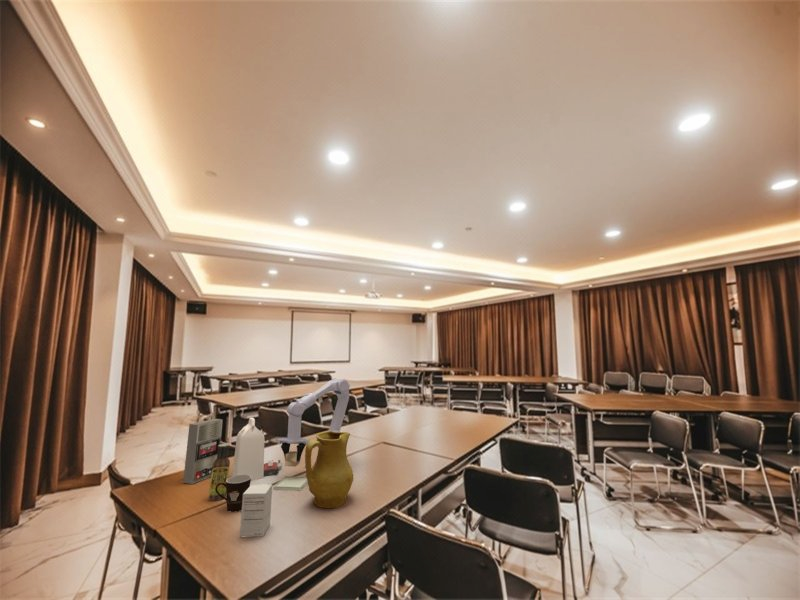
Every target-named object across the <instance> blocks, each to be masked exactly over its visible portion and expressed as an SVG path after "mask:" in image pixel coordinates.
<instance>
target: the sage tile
mask: <svg viewBox="0 0 800 600" xmlns="http://www.w3.org/2000/svg"><path fill="white" fill-rule="evenodd" d="M306 485H308V481H307V478H306V476H293V475H291V476H290V475H287V476H284V477H283V478H282V479H281V480H280V481H278V482H277V483H276V484H274V485H273V486H272V490H280V491H282V490H283V491H302V490H303V489H304V488H305V487H306Z"/></svg>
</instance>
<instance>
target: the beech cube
mask: <svg viewBox="0 0 800 600" xmlns="http://www.w3.org/2000/svg"><path fill="white" fill-rule="evenodd" d="M300 463H301V460H300V461H297V450H296V451H294V450H293V451H292V450H289V452H288V453H287V454H286V457H284V466H285V467H295V468H296V467H297V466H298V465H299V464H300Z"/></svg>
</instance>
